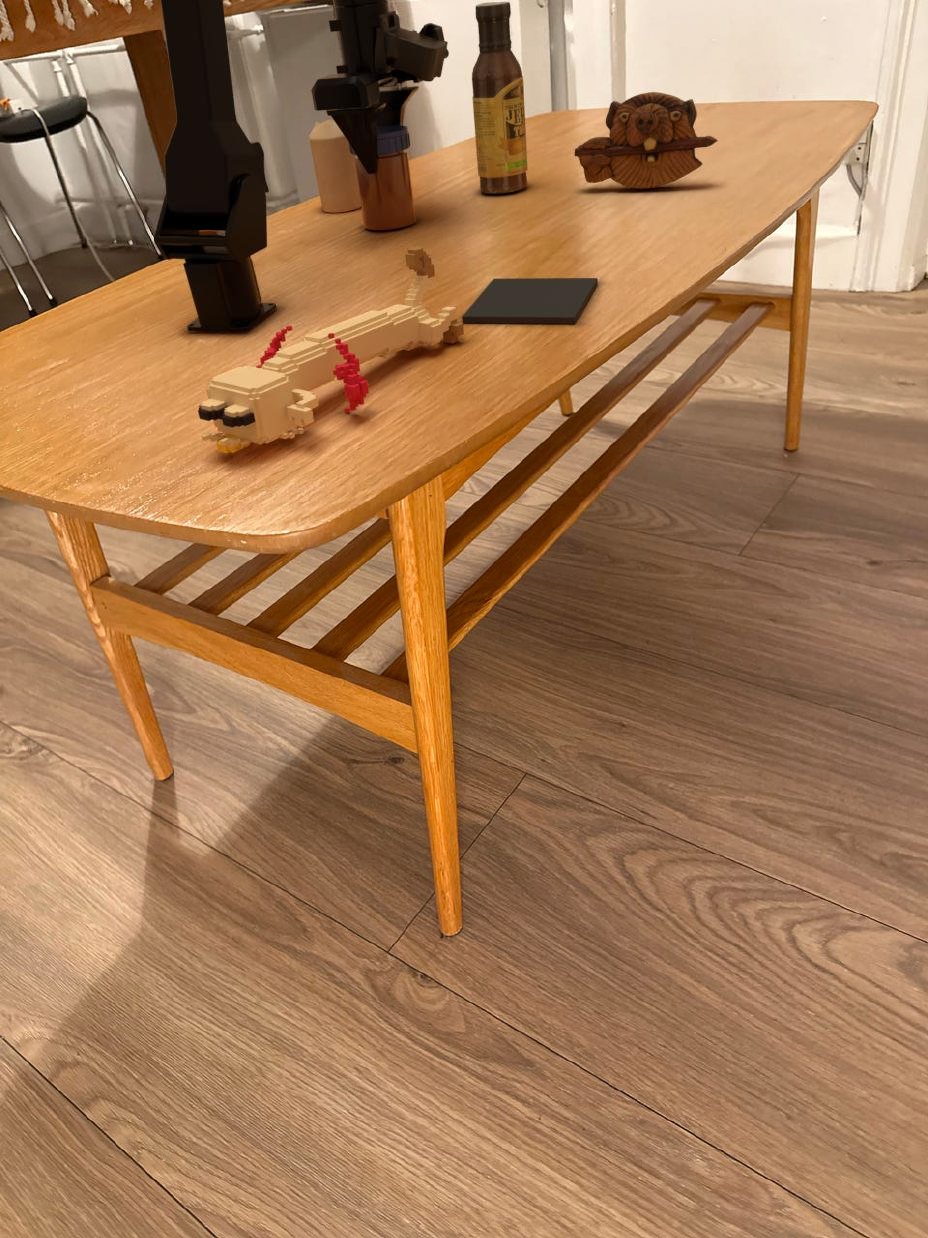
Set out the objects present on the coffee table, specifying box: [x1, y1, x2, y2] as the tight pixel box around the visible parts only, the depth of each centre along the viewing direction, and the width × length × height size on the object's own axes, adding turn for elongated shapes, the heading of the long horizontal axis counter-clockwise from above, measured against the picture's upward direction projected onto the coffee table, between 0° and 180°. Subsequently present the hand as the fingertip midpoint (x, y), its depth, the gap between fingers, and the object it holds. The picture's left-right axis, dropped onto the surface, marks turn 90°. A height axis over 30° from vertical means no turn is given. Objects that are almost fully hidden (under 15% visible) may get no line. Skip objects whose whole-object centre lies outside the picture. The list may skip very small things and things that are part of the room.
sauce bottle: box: [471, 1, 529, 194], centre depth 111 cm, size 6×6×20 cm
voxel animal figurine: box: [197, 246, 465, 455], centre depth 68 cm, size 10×9×25 cm
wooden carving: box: [574, 91, 719, 189], centre depth 107 cm, size 16×5×10 cm, turn 76°
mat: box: [461, 277, 599, 325], centre depth 82 cm, size 10×10×1 cm
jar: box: [354, 149, 417, 231], centre depth 106 cm, size 6×6×9 cm
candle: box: [308, 118, 361, 213], centre depth 115 cm, size 6×6×10 cm
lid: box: [349, 125, 411, 156], centre depth 104 cm, size 7×7×2 cm
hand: (383, 166), depth 105 cm, fingers closed on lid, 6 cm apart
